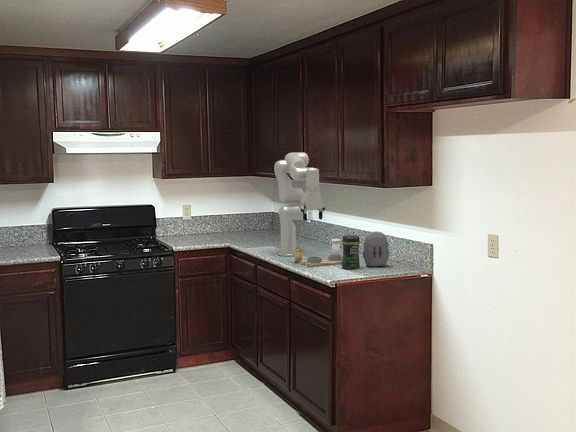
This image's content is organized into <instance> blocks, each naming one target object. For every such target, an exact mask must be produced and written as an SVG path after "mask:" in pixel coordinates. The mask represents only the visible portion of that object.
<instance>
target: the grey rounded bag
mask: <svg viewBox="0 0 576 432" xmlns="http://www.w3.org/2000/svg"><path fill="white" fill-rule="evenodd" d="M362 258H363V260H364V263H365V265H366V266H368V267H372V268H373V267H375V268H376V267H383V266H387V263H388V260H389V258H390V250H389V242H388V239H387V236H386V235H385V234H384V233H383V232H381V231H372V232H370V233H368V234H367V235H366V236H365V239H364V242H363V250H362Z"/></svg>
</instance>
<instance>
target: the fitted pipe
mask: <svg viewBox="0 0 576 432" xmlns="http://www.w3.org/2000/svg"><path fill="white" fill-rule="evenodd" d="M340 242H341V239H340V238H331V254H330V255H328V258H327V259H329V261H342V258H343V254H341V253H340V249H341V248H340V245H341V244H340Z"/></svg>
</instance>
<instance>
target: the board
mask: <svg viewBox="0 0 576 432" xmlns="http://www.w3.org/2000/svg"><path fill="white" fill-rule="evenodd" d="M299 265H303V266H304V267H308V268H317V267H329V266H340V265H341V266H342V261H329V259H328V258H322V262H321V263H308V262H307V259H305V260H302V261H300V263H299Z"/></svg>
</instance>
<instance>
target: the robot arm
mask: <svg viewBox="0 0 576 432" xmlns="http://www.w3.org/2000/svg"><path fill="white" fill-rule="evenodd" d="M309 160H310V158H309V156H308V153H306V152H303V151H302V152H289V153H287V154H286V155H285V156H284V159H280V160H277V161H276V162H275V163H274V166H273V167H274V169H273V170H274V175H275V178H276V180H277V186H278V192H279V193H278V194H279V195H278V196H279V200H280V203H282V204H286V205H281V207H279V210H278V216H279V223H280V252H278V256H281V257H295V251H294V249H296V248H297V240H296V239H297V234H296V233H297V227H296V224H295V223H294V222H293V221H299V220H303V221H308V213H307V212H308V211H314V210H317V211H318V220H323V215H324V214H323V213H324V211H325V210H326V209H327V204H326V203H325V202H322V194H321V192H320V191H321V190H322V187H320V170H319V169H318V168H317V167H315V168H314V167H307V166H308V165H309V162H310V161H309ZM288 174H289V175H290V177H291V178H292V179H293V180H294V181H297V182H301V181H303V182H304V181H305V192H304V190H303V188H301V187H293V185H292V183H293V182H292V179H291V178H290V177H289V175H288Z"/></svg>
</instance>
